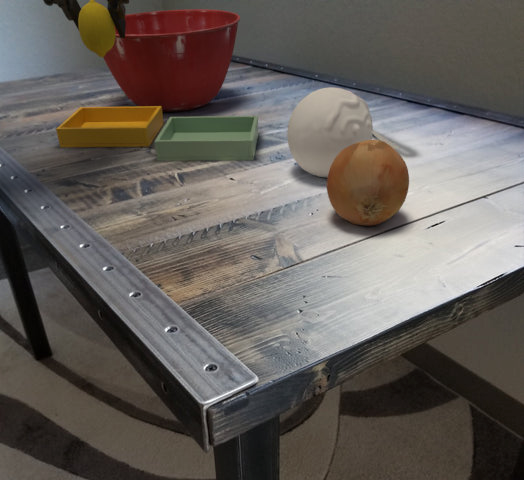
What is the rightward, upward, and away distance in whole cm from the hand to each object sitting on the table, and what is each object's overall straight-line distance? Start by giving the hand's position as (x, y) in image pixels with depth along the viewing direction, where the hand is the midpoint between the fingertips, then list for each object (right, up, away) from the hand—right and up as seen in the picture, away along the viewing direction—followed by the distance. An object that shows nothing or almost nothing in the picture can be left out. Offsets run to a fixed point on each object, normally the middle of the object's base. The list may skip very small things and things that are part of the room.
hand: (104, 30), depth 94 cm
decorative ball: (+35, -26, -8) cm, 45 cm away
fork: (+44, -15, +5) cm, 47 cm away
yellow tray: (-1, -14, +9) cm, 17 cm away
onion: (+38, -36, -21) cm, 57 cm away
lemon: (0, -5, -1) cm, 5 cm away
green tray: (+17, -19, +2) cm, 25 cm away
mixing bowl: (+8, -2, +25) cm, 26 cm away
